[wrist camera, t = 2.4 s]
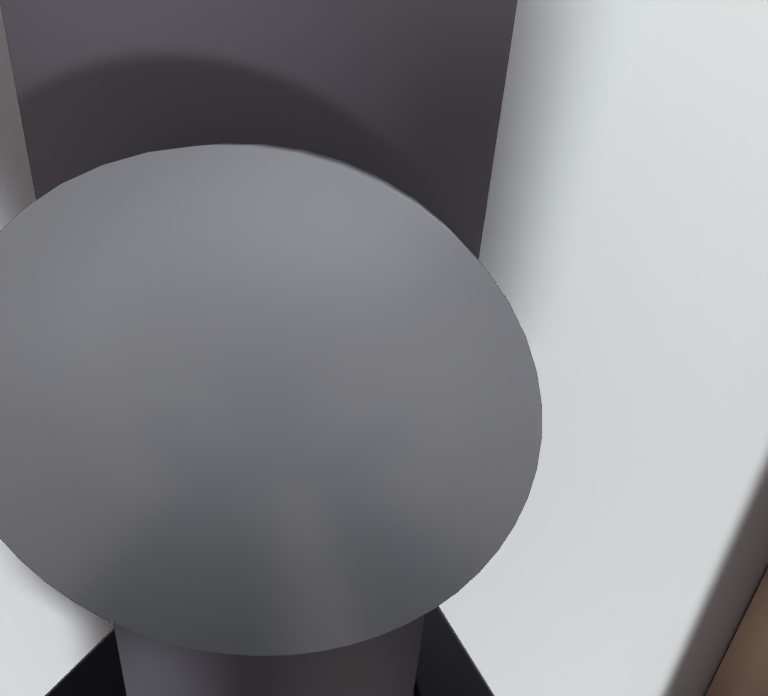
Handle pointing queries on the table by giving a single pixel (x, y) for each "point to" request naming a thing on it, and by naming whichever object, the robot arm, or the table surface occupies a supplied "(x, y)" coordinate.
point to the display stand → (746, 653)
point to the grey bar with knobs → (260, 332)
